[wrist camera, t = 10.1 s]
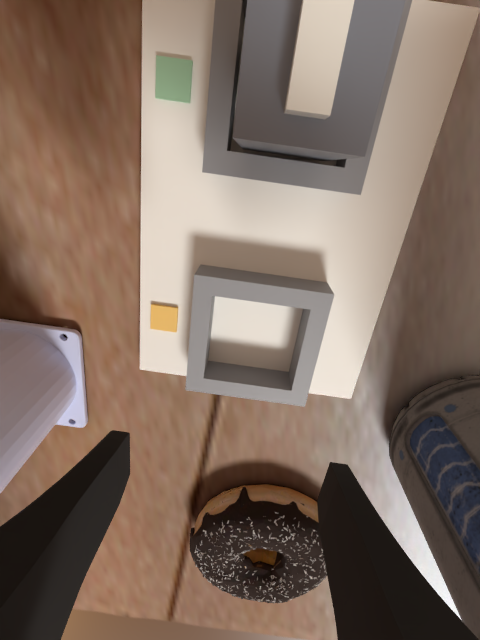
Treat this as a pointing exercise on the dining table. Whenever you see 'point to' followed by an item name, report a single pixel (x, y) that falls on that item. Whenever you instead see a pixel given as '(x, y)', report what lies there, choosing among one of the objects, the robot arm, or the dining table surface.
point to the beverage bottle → (445, 482)
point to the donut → (260, 543)
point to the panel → (274, 209)
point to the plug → (313, 75)
